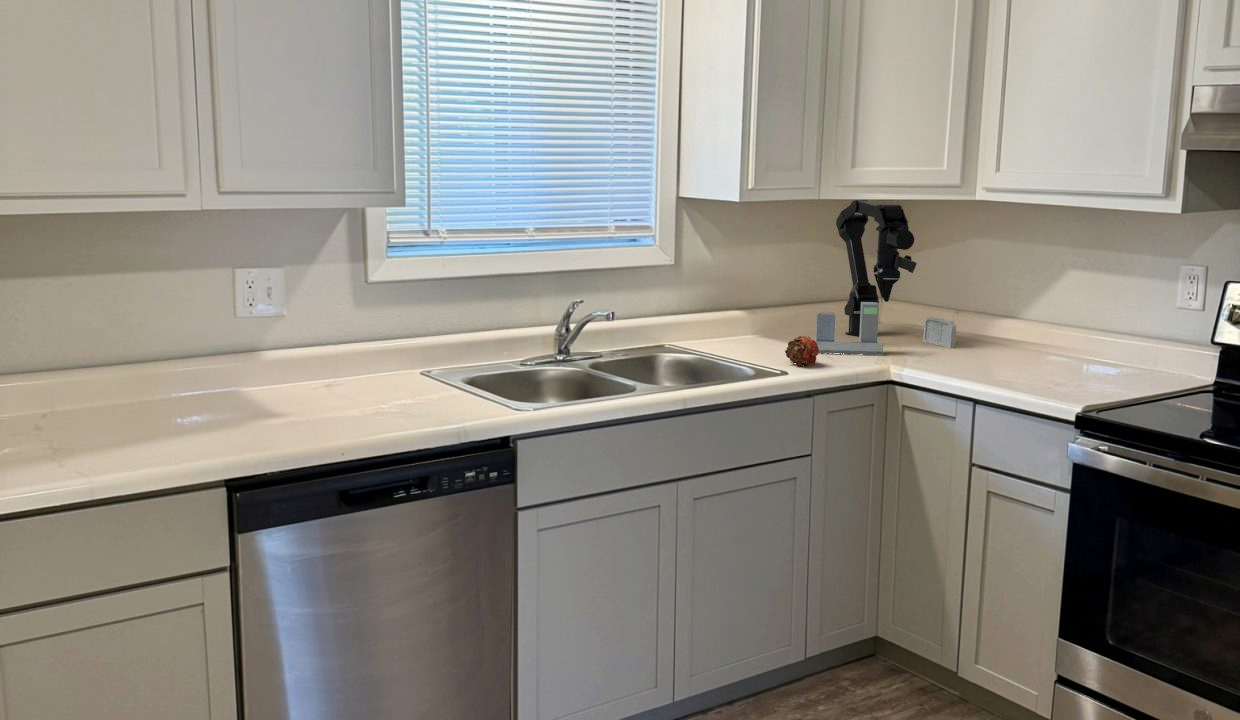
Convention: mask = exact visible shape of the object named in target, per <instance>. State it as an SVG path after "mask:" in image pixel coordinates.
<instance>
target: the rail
mask: <svg viewBox="0 0 1240 720" xmlns="http://www.w3.org/2000/svg"><path fill="white" fill-rule="evenodd" d="M815 321H816V323H815V342H816V343H817V345H818V349H819V353H842V354H843V353H844V354H863V355H862V356H871V355H883V356H884V342H877V343H864V342H859V341H857V342H856V341H835V332H836V331H835V330H836V328H835V327H836V313H835V311H834V312H832V311H829V312H828V311H826V312H825V311H824V312H823V311H817V312H816V320H815Z"/></svg>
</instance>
